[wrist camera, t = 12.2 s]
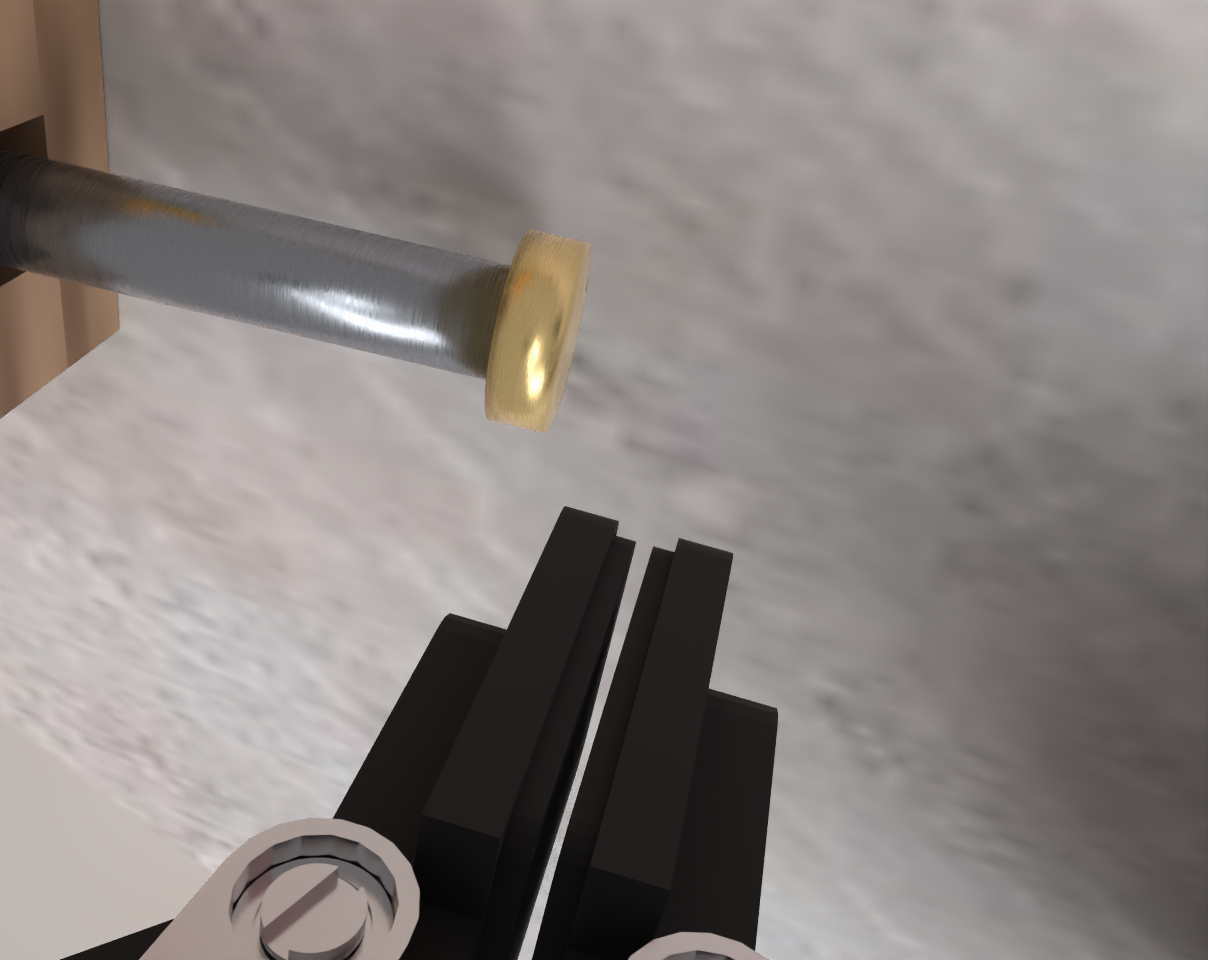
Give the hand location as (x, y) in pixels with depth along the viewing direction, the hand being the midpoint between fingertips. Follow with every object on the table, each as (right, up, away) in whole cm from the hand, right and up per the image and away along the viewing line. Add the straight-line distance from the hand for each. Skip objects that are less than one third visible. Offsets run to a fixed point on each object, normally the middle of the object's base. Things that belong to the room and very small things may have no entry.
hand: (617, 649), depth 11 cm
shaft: (-8, +7, +14) cm, 18 cm away
